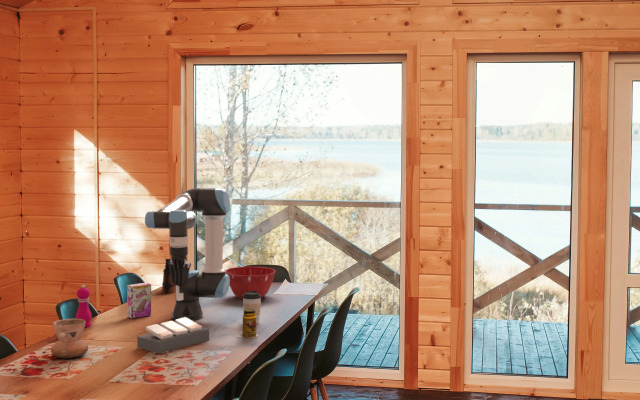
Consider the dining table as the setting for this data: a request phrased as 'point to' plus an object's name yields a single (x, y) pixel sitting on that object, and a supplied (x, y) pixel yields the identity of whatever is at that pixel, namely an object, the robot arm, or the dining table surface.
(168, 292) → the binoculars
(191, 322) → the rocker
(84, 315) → the pepper mill
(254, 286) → the mixing bowl
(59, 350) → the ceramic jug
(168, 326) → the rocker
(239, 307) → the dining table surface
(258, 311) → the coffee cup
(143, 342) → the power strip
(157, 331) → the rocker
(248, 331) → the condiment
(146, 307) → the candy bar box
